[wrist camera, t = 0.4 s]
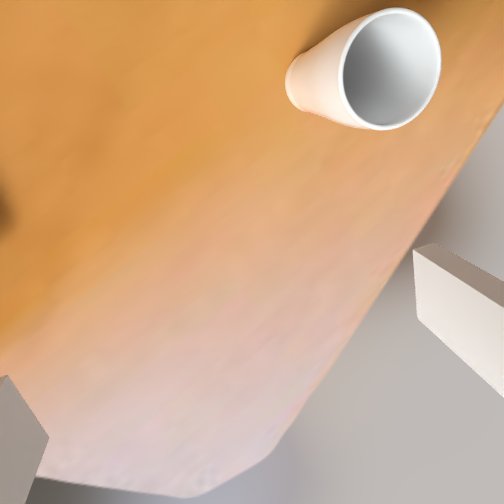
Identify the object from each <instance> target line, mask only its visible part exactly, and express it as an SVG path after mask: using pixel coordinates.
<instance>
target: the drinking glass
mask: <svg viewBox="0 0 504 504" xmlns="http://www.w3.org/2000/svg"><path fill="white" fill-rule="evenodd" d="M441 66H442V55H441V48H440V43H439V40H438V37H437V35H436V33H435V31H434V29H433V27H432V26H431V25H430V23H429V22H428V21H427V20H426V19H425V18H424V17H423V16H421V15H420V14H418V13H417V12H415V11H413V10H410V9H407V8H400V7H394V8H387V9H383V10H380V11H377V12H374V13H371V14H368V15H365V16H362V17H360V18H358V19H356V20H353V21H351V22H349V23H347V24H346V25H344V26H342V27H341V28H339V29H337V30H336V31H335V32H333V33H332V34H330V35H329V36H328V37H326V38H325V39H324V40H322V41H321V42H319V43H318V44H317V45H315V46H314V47H312V48H311V49H309V50H308V51H306V52H303V53H302V54H300V55H299V56H297V57H296V58H295V59H294V60H293V61H292V63H291V64H290V66H289V68H288V70H287V73H286V78H285V88H286V93H287V95H288V98H289V99H290V101H291V102H292V104H293V105H294V106H295V107H297V108H298V109H300V110H302V111H305V112H310V113H313V114H316V115H319V116H321V117H324V118H326V119H329V120H331V121H334V122H336V123H339V124H342V125H345V126H349V127H354V128H359V129H369V130H390V129H394V128H398V127H400V126H403V125H405V124H406V123H408V122H410V121H411V120H413V119H414V118H415V117H416V116H418V115H419V114H420V113H421V112H422V111H423V109H424V108H425V107H426V106H427V104H428V103H429V101H430V100H431V98H432V96H433V94H434V92H435V90H436V88H437V85H438V82H439V78H440V73H441Z"/></svg>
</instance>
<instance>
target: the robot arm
mask: <svg viewBox="0 0 504 504" xmlns="http://www.w3.org/2000/svg"><path fill="white" fill-rule="evenodd" d="M413 260H414V276H415V289H416V305H417V318H418V319H419V320H420V321H421V322H422V323H423V324H424V325H425V326H427V327H428V328H429V329H430V330H431V331H432V332H433V333H434V334H435V335H436V336H437V337H438V338H440V339H441V340H442V341H443V342H444V343H445V344H446V345H447V346H448V347H449V348H450V349H451V350H453V351H454V352H455V353H456V354H457V355H458V356H459V357H460V358H461V359H462V360H464V361H465V362H466V363H467V364H468V365H469V366H470V367H471V368H472V369H473V370H474V371H476V373H478V374H479V375H480V376H481V377H482V378H483V379H484V380H485V381H486V382H487V383H488V384H490V385H491V386H492V387H493V388H494V389H495V390H496V391H497V392H498V393H499V394H501V395H502V396H503V397H504V282H503V281H501V280H499V279H498V278H496V277H494V276H493V275H491V274H489V273H487V272H485V271H484V270H482V269H480V268H478V267H476V266H475V265H473V264H471V263H470V262H468V261H466V260H464V259H462V258H460V257H459V256H457V255H455V254H454V253H452V252H450V251H448V250H447V249H445V248H443V247H441V246H439V245H438V244H436V243H432V244H429V245H425V246H422V247H419V248H416V249H413ZM48 440H49V436H48V435H47V433H46V432H45V430H44V429H43V427H42V426H41V424H40V423H39V421H38V420H37V418H36V417H35V415H34V414H33V412H32V411H31V409H30V408H29V406H28V405H27V403H26V402H25V400H24V399H23V397H22V396H21V394H20V393H19V391H18V390H17V388H16V387H15V385H14V384H13V382H12V381H11V379H10V378H9V376H8V375H6V376H2V377H0V504H25V501H26V499H27V496H28V493H29V491H30V488H31V485H32V483H33V480H34V477H35V475H36V472H37V469H38V467H39V464H40V461H41V459H42V456H43V453H44V451H45V448H46V445H47V443H48Z"/></svg>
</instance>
